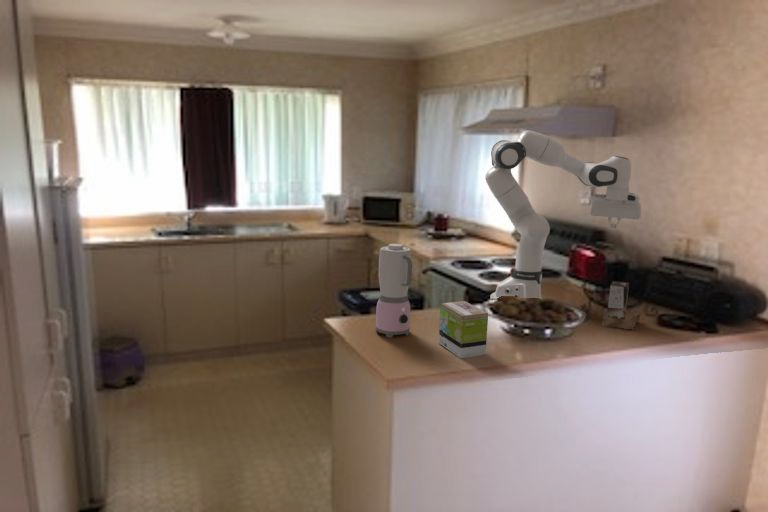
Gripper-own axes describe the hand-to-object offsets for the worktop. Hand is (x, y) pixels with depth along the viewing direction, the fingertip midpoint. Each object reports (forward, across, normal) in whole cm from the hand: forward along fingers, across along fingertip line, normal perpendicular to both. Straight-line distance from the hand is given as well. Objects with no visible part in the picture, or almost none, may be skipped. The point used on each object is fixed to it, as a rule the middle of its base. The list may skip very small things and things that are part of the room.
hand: (613, 228), depth 252 cm
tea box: (+35, -36, -86) cm, 99 cm away
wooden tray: (+34, +8, -25) cm, 43 cm away
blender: (+34, -62, -83) cm, 109 cm away
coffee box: (+34, +7, -26) cm, 44 cm away
